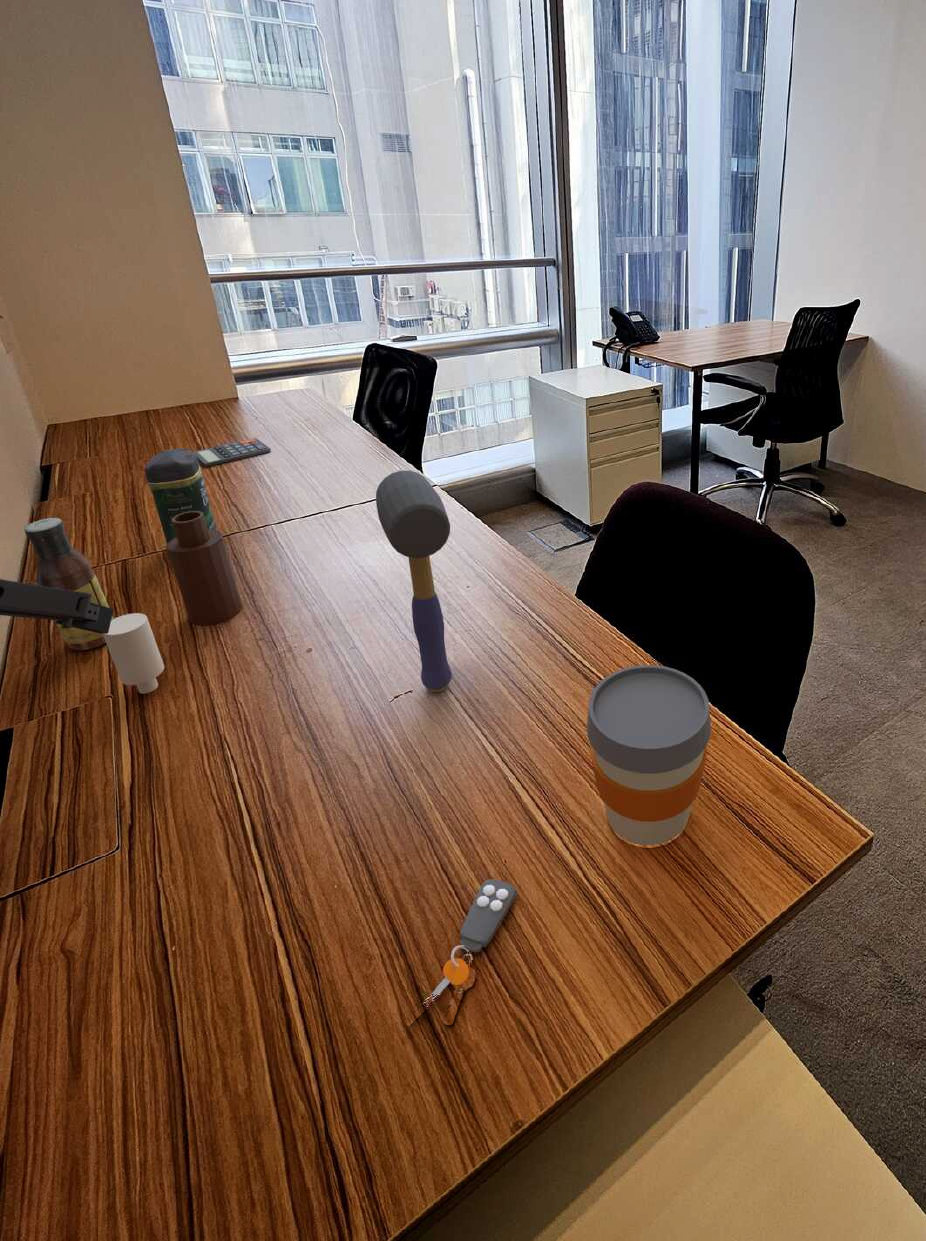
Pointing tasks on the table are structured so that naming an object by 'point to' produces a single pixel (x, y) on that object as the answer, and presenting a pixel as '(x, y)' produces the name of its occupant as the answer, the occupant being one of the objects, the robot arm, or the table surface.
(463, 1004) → the table surface
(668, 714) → the reusable coffee cup
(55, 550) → the sauce bottle
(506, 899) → the key chain
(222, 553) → the bottle
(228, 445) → the calculator
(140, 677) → the bung
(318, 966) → the table surface
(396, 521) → the rubber mallet
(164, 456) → the coffee jar
